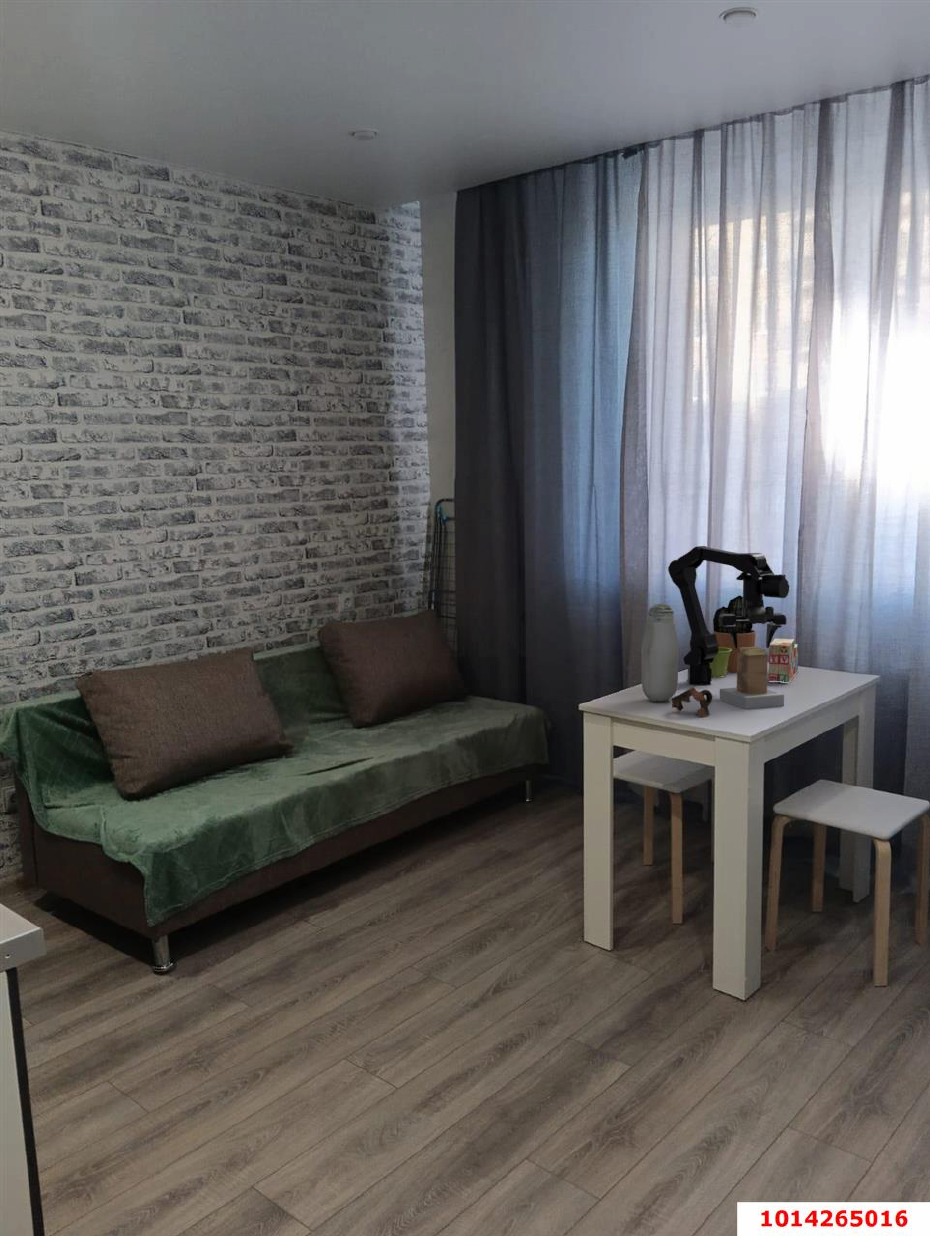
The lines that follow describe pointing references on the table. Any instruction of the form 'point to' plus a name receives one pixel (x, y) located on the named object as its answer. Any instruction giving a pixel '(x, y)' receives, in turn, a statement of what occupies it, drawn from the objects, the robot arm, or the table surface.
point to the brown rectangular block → (752, 670)
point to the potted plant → (743, 632)
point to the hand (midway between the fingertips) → (751, 648)
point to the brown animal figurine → (697, 695)
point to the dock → (751, 698)
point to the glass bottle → (660, 654)
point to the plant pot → (720, 662)
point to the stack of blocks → (782, 660)
